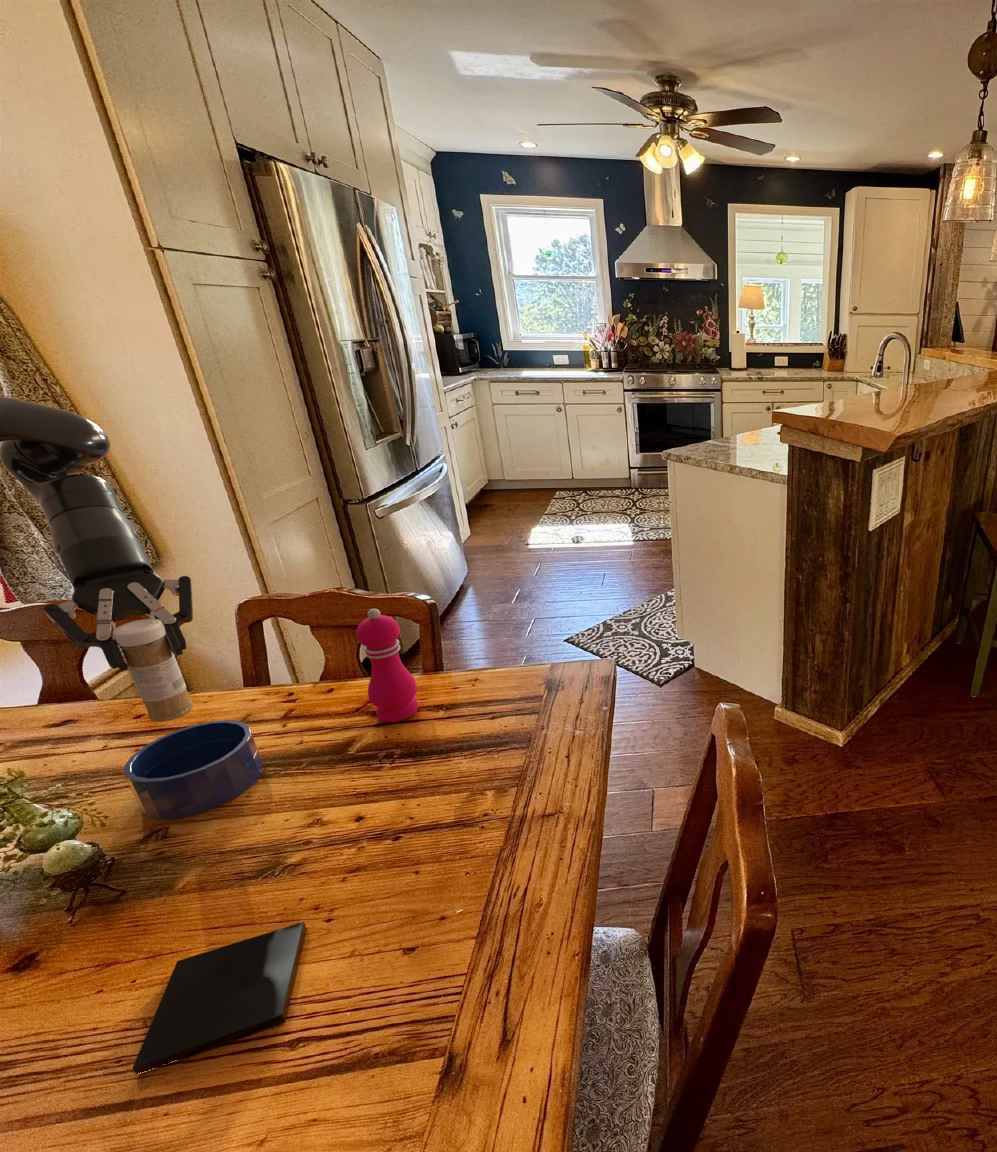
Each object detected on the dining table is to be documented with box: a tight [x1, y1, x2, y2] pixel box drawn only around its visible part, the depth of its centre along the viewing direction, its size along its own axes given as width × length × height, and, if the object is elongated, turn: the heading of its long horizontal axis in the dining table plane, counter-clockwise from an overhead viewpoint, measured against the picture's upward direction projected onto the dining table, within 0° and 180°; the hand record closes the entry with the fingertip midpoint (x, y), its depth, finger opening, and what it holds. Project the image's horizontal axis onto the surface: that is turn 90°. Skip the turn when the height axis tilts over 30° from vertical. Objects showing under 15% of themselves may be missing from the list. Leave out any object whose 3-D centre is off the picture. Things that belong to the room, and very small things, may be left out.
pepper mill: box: [356, 608, 419, 723], centre depth 102 cm, size 7×7×20 cm
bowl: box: [123, 719, 264, 820], centre depth 88 cm, size 13×13×6 cm
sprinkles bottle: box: [113, 618, 195, 723], centre depth 80 cm, size 5×5×14 cm
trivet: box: [132, 921, 308, 1075], centre depth 62 cm, size 11×11×1 cm
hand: (151, 660), depth 78 cm, fingers closed on sprinkles bottle, 4 cm apart
